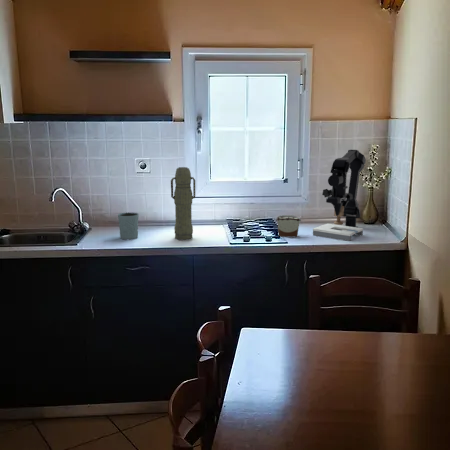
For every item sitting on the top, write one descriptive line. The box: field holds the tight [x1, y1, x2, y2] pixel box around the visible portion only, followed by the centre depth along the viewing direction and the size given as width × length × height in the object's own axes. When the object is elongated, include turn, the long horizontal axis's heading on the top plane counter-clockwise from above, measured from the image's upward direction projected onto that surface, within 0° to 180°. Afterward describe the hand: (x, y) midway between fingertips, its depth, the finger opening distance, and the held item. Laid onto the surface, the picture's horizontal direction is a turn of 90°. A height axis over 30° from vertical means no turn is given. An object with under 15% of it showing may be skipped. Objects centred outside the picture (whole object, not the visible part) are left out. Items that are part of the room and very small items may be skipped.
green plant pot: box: [117, 212, 140, 241], centre depth 263 cm, size 10×10×12 cm
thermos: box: [170, 166, 196, 241], centre depth 260 cm, size 9×12×35 cm
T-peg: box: [333, 206, 344, 226], centre depth 269 cm, size 4×4×9 cm
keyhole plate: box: [312, 223, 364, 242], centre depth 271 cm, size 16×20×4 cm
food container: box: [276, 214, 302, 238], centre depth 270 cm, size 12×6×10 cm, turn 84°
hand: (338, 214), depth 269 cm, fingers closed on T-peg, 3 cm apart
